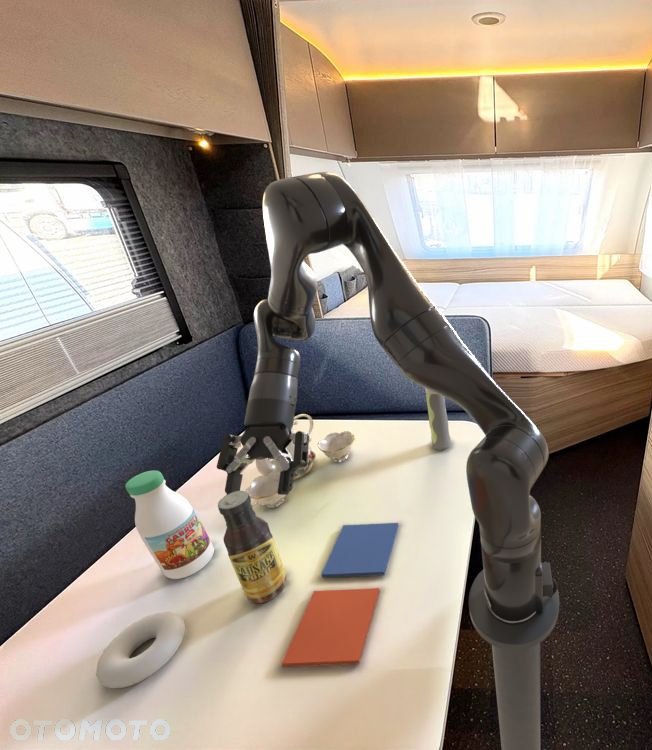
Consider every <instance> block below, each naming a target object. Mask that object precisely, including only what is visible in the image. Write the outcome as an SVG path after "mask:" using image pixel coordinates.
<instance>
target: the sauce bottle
mask: <svg viewBox="0 0 652 750" xmlns="http://www.w3.org/2000/svg"><path fill="white" fill-rule="evenodd" d="M251 502H252V498H251V497H250V496H249V494H248V493H247V492H246V490H240V491H236V492H232V493H230V494H228V495H224V496H222V498H220V500H219V501H218V502H217V508H218V511H219V514H220V515H222V516H223V519H224V521H225V526H226V529H225V532H224V536H223V543H224V546H225V548H226V551H227V556H228V559H229V561H230V563H231V565H232V567H233V569H234V573H235V575H236V577H237V580H238V582H239V585H240V587H241V589H242V591H243V593H244V596H245V597H246V598H247V600H248V601H249V602H251V603H252V604H261V603H266V602H269V601H271V600H272V599H274V598H275V597H276V596H278V595H279V594H280V593H281V592H282V591H283V590H284V588H285V586H286V582H287V574H286V573H287V572H286V570H285V566H284V564H283V562H282V559H281V556H280V553H279V550H278V547H277V545H276V541H275V539H274V536H273V534H272V532H271V529H270V526H269V523H268V522H267V521H266V520H264V518H261V517H259V516H258V515H256V512H255V511H254V509H253V506H251V505H252V503H251Z"/></svg>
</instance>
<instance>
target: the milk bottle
mask: <svg viewBox="0 0 652 750" xmlns="http://www.w3.org/2000/svg"><path fill="white" fill-rule="evenodd" d="M166 482H167V481H166V479H165V478H164V476H163V474H162V472H161V471H159V470H148V471H144V472H141V473H139V474H137V475H134V476H133V477H132V478H130V479H129V480H128V481H127V482H126V483H125V489H126V492H127V493H128V494H129V496H130V498H132V499H134V501H135V513H134V524H135V528H136V531H137V533H138V535H139V537H140V539H141V540H142V542H143V544H144V545H145V547H146V548H147V550H148V552H149V553H150V555H151V557H152V558H153V560H154V561H155V564H157V566H158V567H159V569H160V571H161V572H162V574H163V575H164V576H165V577H166V578H168V579H171V580H181V579H185V578H188V577H191V576H192V575H194V574H196V573H198V572H199V571H200V570H202V569H203V568H204V567H205V566H207V564H208V563H210V561H211V560H212V558H213V556H214V553H215V547H214V545H213V542H212V541H211V538H210V537H209V535H208V533H207V531H206V529H205V527H204V526H203V523H202V522H201V520H200V517H199V516H198V514H197V513H196V511H195V509H194V508H193V506H192V504H191V502H189V501H188V500H187V498H186V497H184V496H183V495H181V494H179V493H178V492H175V491H174V490H172V489H171V488H169V487H168V486H167V485H166Z"/></svg>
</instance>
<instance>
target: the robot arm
mask: <svg viewBox="0 0 652 750" xmlns="http://www.w3.org/2000/svg"><path fill="white" fill-rule="evenodd" d="M262 216H263V224H264V232H265V239H266V248H267V251H268V258H269V264H270V265H269V266H270V281H269V282H270V283H269V288H268V294H267V298H266V299H262V300H261V301H259V302H258V303H257V304H256V305H255V308H254V311H253V323H254V328H255V333H256V339H257V356H256V357H257V358H256V363H255V370H254V375H253V379H252V382H251V385H250V388H249V394H248V400H247V404H246V410H245V416H244V422H243V425H244V431H243V433H242V435H234V434H230V433H227V434H225V435H224V437H223V440H222V443H221V448H220V451H219V454H218V455H219V456H218V459H217V463H216V469H217V470H221V471H223V472H226V480H225V486H224V492H225V494H226V495H228V494H230V493H232V492H236V491H241V487H242V482H243V475H244V474H243V472H244V471H245V470H246V469H247V467H248V466H249V465H252V464H253V463H254V462H255V461H256V459H258V460H262V459H266V458H267V459H268V458H269V459H275V460H277V461H278V462H279V464H280V466H281V467H282V469H283V471H281V472H280V479H279V486H278V494H279V495H286V496H287V495H289V493H290V492H291V491H292V490H293V486H294V480H293V479H294V472H295V471H296V470H297V469H299V468H302V467H306V466H307V463H308V447H309V446H310V442H309V436H310V434H309V435H308V434H307V432H304V431H301V430H298V431H295V433H291V429H292V427H294V425H293V422H294V417H295V414H296V406H297V401H298V390H299V389H298V382H299V381H298V380H299V374H300V366H301V354H300V352H299V351H298V350H297V349H295V348H293V347H291V346H288V345H286V344H282V343H280V342H279V341H277V339H276V338H279V339H283V340H291V341H296V342H303V341H307V340H309V339H310V338H311V337H312V336H313V335H314V333H315V330H316V324H317V323H316V321H317V320H316V315H315V311H314V308H313V305H314V302H315V299H316V296H317V292H318V279H317V277H316V274H315V273H314V271H313V270H312V268H311V267H310V266H309V264H307V263H306V262H305V259H306V258H307V257H308V256H309V255H311V254H319V253H321V252H325V251H329V250H331V249H334V248H338V247H340V246H344V247H346V248H347V250H349V251H350V253H351V254H352V255H353V257H354V258H355V259H356V261H357V263H358V264H359V266H360V268H361V270H362V271H363V274H364V276H365V281H366V286H367V292H368V293H367V294H368V295H367V296H368V309H369V319H370V324H371V329H372V333H373V335H374V337H375V340H376V341H377V342H378V344H379V345H380V346H381V348H382V349H383V350H384V352H385V353H386V354H387V356H388V358H390V359H391V361H392V362H393V363H394V364H395V366H396V367H397V368H398V370H400V372H401V373H402V374H403V375H404V376H405V377H406V378H407V379H408V380H410V381H412V382H413V383H415V384H417V385H418V386H420V387H422V388H424V389H425V388H426V389H428V390H430V391H432V392H434V393H437V394H439V395H441V396H443V397H445V399H447V400H449V401H451V402H453V403H454V404H456V405H457V406H459V407H460V408H461V409H463V410H464V412H465V413H467V414H468V415H469V416H470V417H471V419H472V420H473V421H474V423H476V425H477V426H478V427H479V428H480V430H481V431H482V432H483V434H484V437H483V438H482V439H481V441H479V442H478V444H477V445H475V447H474V448H473V449H472V450H471V451H470V453H469V454H468V456H467V460H466V466H465V468H466V469H465V470H466V471H465V472H466V481H467V487H468V494H469V498H470V499H469V500H470V505H471V510H472V513H473V515H474V518H475V519H476V521H477V523H478V525H479V536H480V545H481V546H480V547H481V556H482V567H483V569H484V578H485V588H486V592H485V589H484V593H485V595H486V603H487V607H488V609H489V611H490V613H491V614H492V615H493V616H494V617H495V618H496V619H497V620H499V621H501V622H503V623H506V624H511V625H517V624H522V623H525V622H527V621H529V620H530V619H532V618H533V617H534V616H535V615H536V614H542V613H543V597H545V596H549V597H550V598H552V596H553V595H554V594H555V593H556V591H557V589H558V588H559V586H558V583H557V581H556V580H555V578H554V577H552V570H551V564H550V562H542V512H541V508H540V505H539V504H538V502H537V501H536V499H535V497H533V495H531V490H532V488H533V487H534V485H535V483H536V482H537V481H538V479H539V477H540V476H541V474H542V472H543V470H544V469H545V467H546V465H547V463H548V461H549V457H550V451H549V446H548V443H547V440H546V439H545V437H544V435H543V433H542V432H541V431H540V429H539V428H538V427H537V425H536V424H535V423H534V422H533V421H532V420H531V419H530V417H529V416H528V415H527V414H526V413H525V412H524V411H523V409H521V408H520V407H519V406H518V405H517V403H515V401H513V399H512V398H511V397H510V396H509V395H508V394H507V393H506V392H505V391H504V390H503V389H502V388H501V387H500V385H499V384H498V383H497V382H496V381H495V380H494V379H493V378H492V376H491V375H490V374H489V373H488V372H487V370H486V369H485V368H484V366H483V365H482V364H481V363H480V361H479V360H478V358H476V357H475V355H474V354H473V353H472V351H471V350H470V349H469V348H468V347H467V346H466V344H465V343H464V341H463V340H462V339H461V337H459V335H458V334H457V331H456V330H455V329H454V327H453V326H452V325H451V323H450V322H449V320H448V319H447V318H446V317H445V315H444V314H443V313H442V312H441V310H440V309H439V308H438V307H437V305H436V304H435V303H434V301H432V300H431V298H430V297H429V296H428V295H427V294H426V292H425V291H424V289H422V287H421V286H420V284H419V283H418V281H416V279H415V278H414V276H413V275H412V274H411V272H410V271H409V270H408V269H407V267H406V265H405V264H404V262H402V260H401V259H400V257H399V256H398V254H397V252H395V250H394V248H392V245H391V244H390V242H389V240H388V239H387V238H386V236H385V235H384V233H383V232H382V230H381V228H380V227H379V225H378V224H377V221H376V220H375V219H374V217H373V216H372V214H371V212H370V211H369V210H368V208H367V207H366V205H365V203H364V202H363V200H362V198H361V197H360V196H359V194H358V193H357V191H356V190H355V189H354V188H353V187H352V185H351V184H350V183H349V182H348V181H347V180H346V179H345V178H344V177H342V176H341V175H340V174H337V173H335V172H332V171H320V172H319V171H318V172H313V173H307V174H302V175H296V176H292V177H291V176H290V177H286V178H285V177H284V178H280V179H277V180H273V181H272V182H270V183H269V184H268V185H267V186H266V188H265V190H264V191H263V197H262ZM291 441H293V444H294V445H295V446H294V459H293V460H292V456H291V454H290V453H289V451H288V450H287V448H286V447H287V446H288V445H289V444H290V443H291ZM241 446H242V448H241V449H240V450H239V448H240V447H241ZM238 450H239V451H238ZM226 495H225V496H226Z"/></svg>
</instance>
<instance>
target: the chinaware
mask: <svg viewBox="0 0 652 750" xmlns="http://www.w3.org/2000/svg"><path fill="white" fill-rule="evenodd" d="M303 417H305V418H307V419H308V421H309V428H308V430H307V432H306V433H307V434H308V435H309V443H311V441H312V437H313V436H311V435H310V434H312V432H313V429H314V420H313V418H312V416H310V414H309V415H308V414H306V413H301V414H297V415H294V422H293V427H292V429H291V433H296V430H295V427H294V426H297V425H298V424H299V421H298V420H297V419H299V418H303ZM355 441H356V438H355V435H354V434H353V433H352V432H351V431H349V430H346V431H345V430H344V431H342V432H330V433H329V434H327V435H326V436H325V438H324V439H321V440H319V441H318V442H317V447H318V449H319V451H321V452H322V453H323V454H324V455H325V456H326V457H327V458H328V459H331V460H333V462H335V463H341V462H344V461H346V460H348V457H349V454H350V453H351V451H352V449H353V444H354V443H355ZM294 446H295V445H294V444H293V441H291V443H290V444H289V445H288V446H287V447H286V448H287V450H288V451H289V453H290V454H291V456H292V460H293V459H294ZM316 458H317V454H316V453H315V452H314V451H313V449H312V448H311V447H310V445H309V447H308V463H307V466H306V467H302V468H299V469H297V470H296V471H295V472H294V479H293V481H296V480H299V479H301V478H302V477H305V476H306V475H307V474H308V473H310V472H311V470H312V469H313V467H314V461H315V459H316ZM255 466H256V469H257V471H258V472H259V474H261V475H259V476H257V477H255V478H254V479H253V480H252V481H251V482H250V485H249V487H247V488H245V491H246V492H247V493H248V494H249V496H250V499H253V500H254V503H253V504H251V506H252V507H254V506H255V505H257V504H259V506H258V507H263V506H267V508H268V509H269V508H272V509H273V508H278V507H279V506H280V505H282V504H283V503H284V502H285V498H286V496H287V495H279V494H278V486H279V479H280V472H281V471H283V469H282V467H281V466H280V464H279V462H278V461H277V460H275V459H269V458H266V459H262V460H258V459H255Z"/></svg>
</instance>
